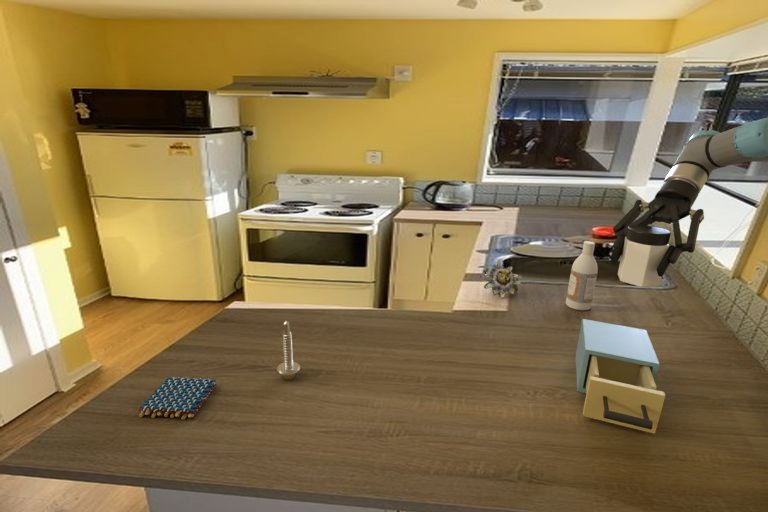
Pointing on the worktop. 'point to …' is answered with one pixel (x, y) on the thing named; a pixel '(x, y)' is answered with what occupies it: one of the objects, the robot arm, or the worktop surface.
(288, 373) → the screw
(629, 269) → the jar
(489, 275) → the passion flower
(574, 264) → the bath foam
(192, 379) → the woven mat
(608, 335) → the blue drawer cabinet
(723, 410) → the worktop surface
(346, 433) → the worktop surface
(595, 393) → the drawer
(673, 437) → the worktop surface
